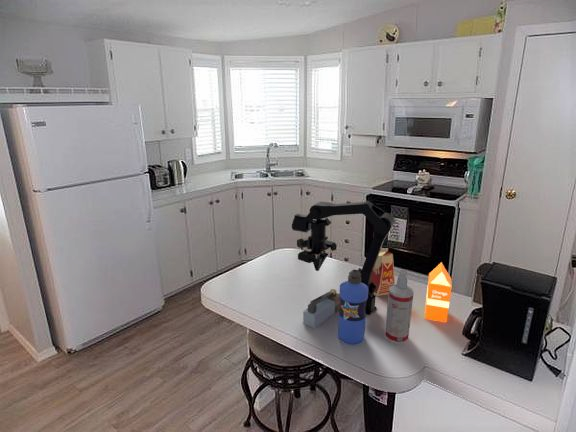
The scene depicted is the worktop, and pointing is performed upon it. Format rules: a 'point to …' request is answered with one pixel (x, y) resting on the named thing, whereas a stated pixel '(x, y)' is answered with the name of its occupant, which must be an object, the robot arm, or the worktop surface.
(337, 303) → the tan wooden block
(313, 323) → the blue-grey block
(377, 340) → the worktop surface
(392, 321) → the spray bottle
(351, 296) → the blue bottle
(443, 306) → the orange juice
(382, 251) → the milk carton
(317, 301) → the bar
